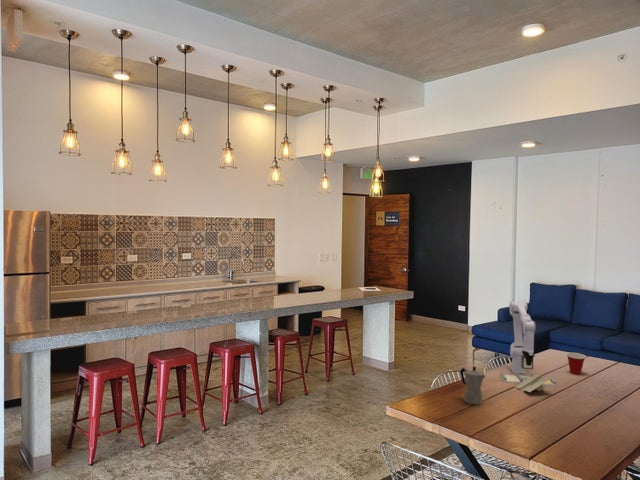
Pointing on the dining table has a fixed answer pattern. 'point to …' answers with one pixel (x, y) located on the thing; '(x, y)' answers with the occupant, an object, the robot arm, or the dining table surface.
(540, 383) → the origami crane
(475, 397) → the coffeepot
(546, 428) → the dining table surface
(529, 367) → the picture frame
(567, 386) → the dining table surface
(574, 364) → the plastic cup
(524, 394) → the dining table surface
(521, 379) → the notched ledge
